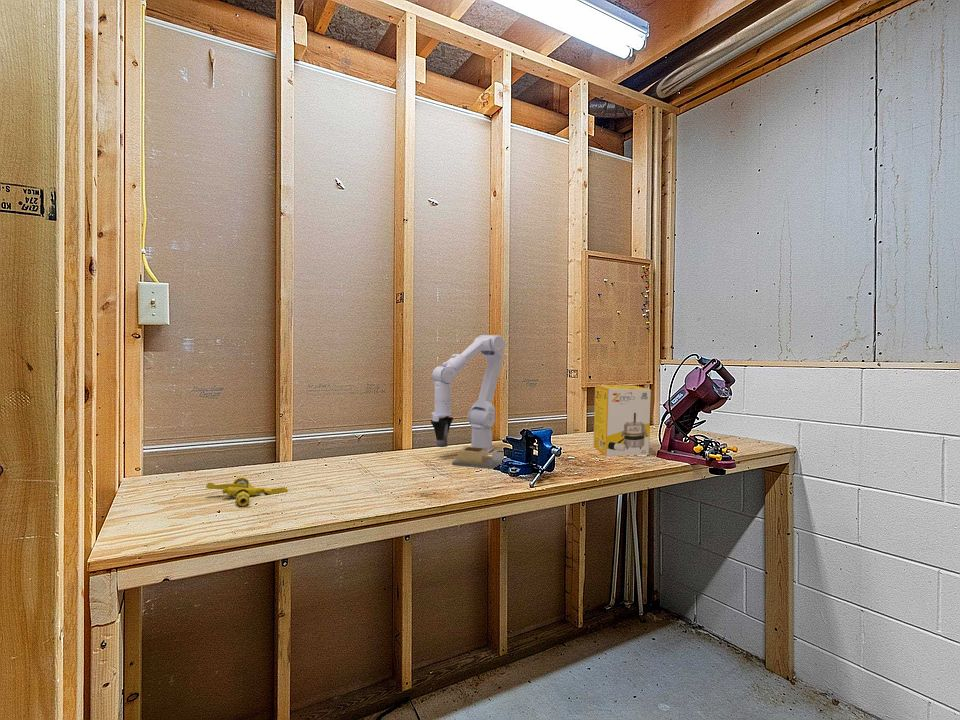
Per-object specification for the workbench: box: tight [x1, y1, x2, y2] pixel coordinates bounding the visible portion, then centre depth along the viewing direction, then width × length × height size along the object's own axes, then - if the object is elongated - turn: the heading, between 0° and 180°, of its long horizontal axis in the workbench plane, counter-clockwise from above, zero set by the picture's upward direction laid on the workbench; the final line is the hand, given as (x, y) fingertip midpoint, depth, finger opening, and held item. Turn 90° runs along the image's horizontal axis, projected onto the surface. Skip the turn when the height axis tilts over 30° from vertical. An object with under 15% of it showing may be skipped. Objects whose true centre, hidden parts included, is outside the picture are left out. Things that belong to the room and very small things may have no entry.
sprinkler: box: [205, 477, 289, 507], centre depth 128 cm, size 19×4×15 cm
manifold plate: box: [452, 445, 504, 470], centre depth 170 cm, size 12×18×4 cm, turn 75°
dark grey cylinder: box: [435, 423, 449, 448], centre depth 177 cm, size 4×4×8 cm
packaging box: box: [593, 384, 652, 457], centre depth 193 cm, size 16×16×25 cm
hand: (442, 438), depth 177 cm, fingers closed on dark grey cylinder, 4 cm apart
